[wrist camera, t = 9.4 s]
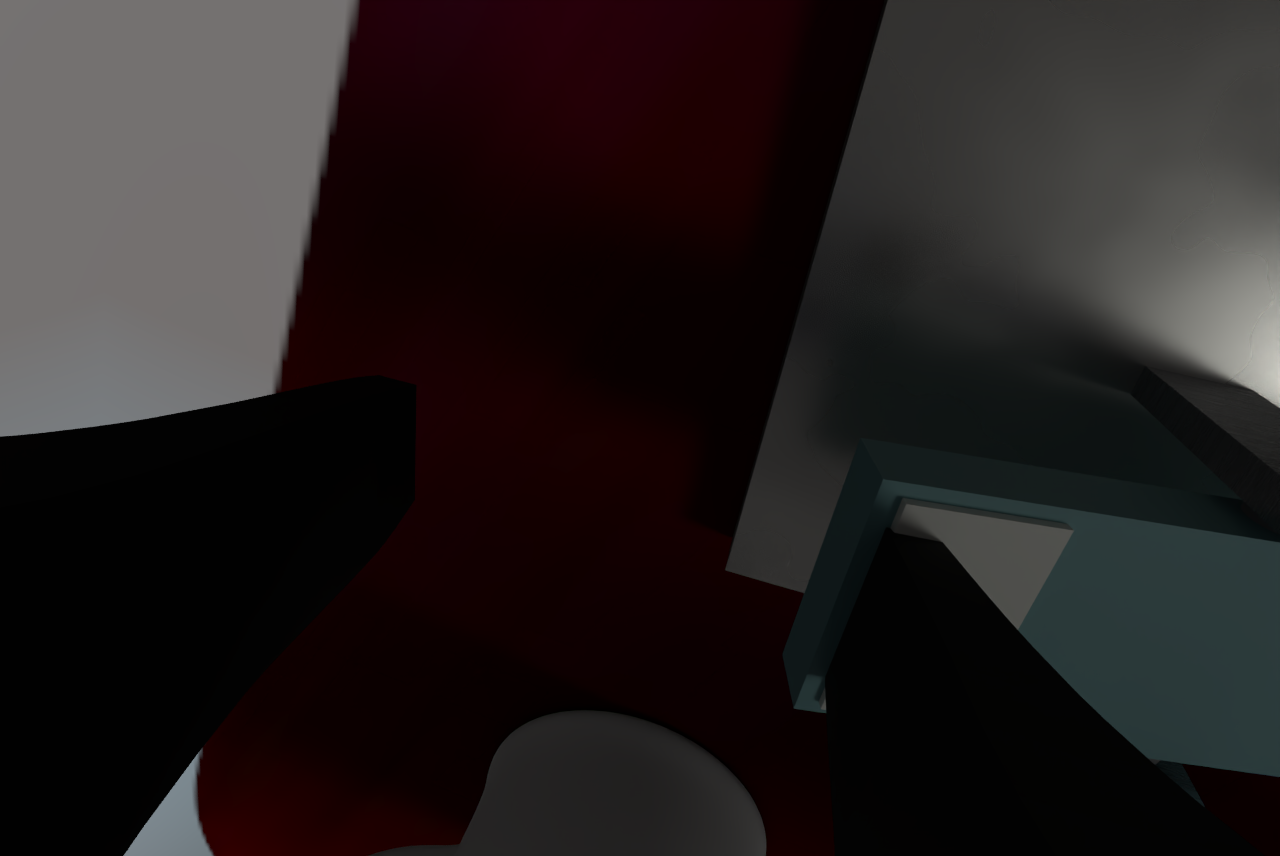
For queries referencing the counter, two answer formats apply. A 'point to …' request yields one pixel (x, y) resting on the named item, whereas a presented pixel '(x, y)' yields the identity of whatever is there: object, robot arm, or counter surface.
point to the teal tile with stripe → (1080, 591)
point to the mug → (606, 795)
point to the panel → (1041, 262)
